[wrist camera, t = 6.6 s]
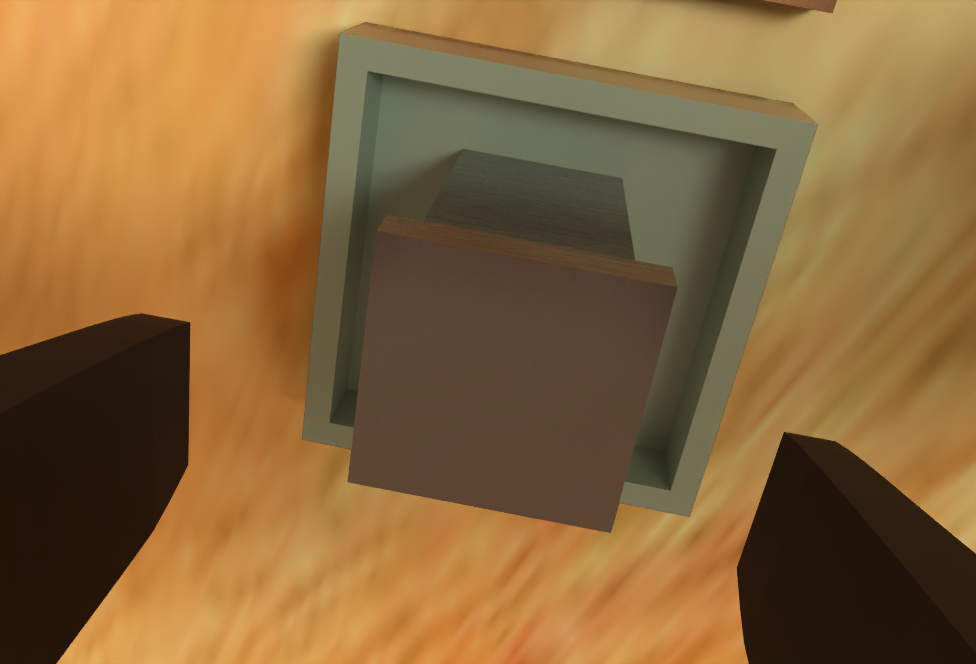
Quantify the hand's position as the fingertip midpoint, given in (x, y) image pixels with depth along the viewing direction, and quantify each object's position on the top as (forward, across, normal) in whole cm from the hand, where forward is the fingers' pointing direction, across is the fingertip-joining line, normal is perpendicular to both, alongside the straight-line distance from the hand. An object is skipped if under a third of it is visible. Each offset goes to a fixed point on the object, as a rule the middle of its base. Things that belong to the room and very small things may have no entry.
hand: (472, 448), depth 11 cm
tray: (+10, 0, +1) cm, 10 cm away
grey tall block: (+10, 0, +1) cm, 10 cm away
